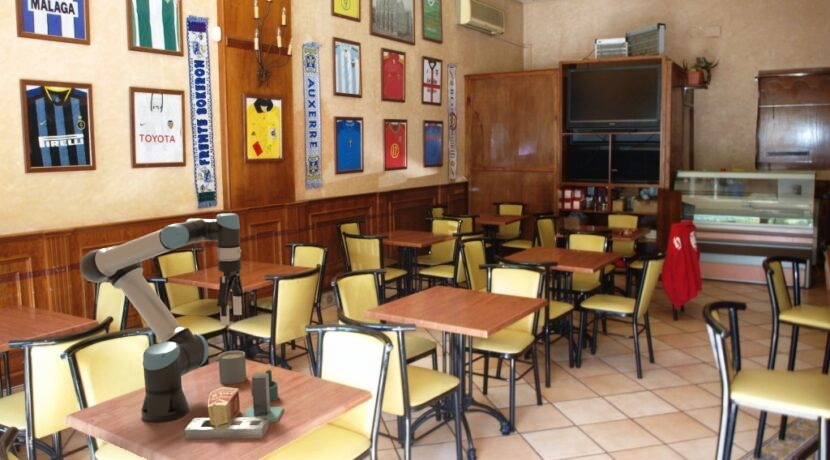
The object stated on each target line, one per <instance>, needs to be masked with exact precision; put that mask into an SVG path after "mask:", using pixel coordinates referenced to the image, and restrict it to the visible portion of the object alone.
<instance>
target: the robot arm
mask: <svg viewBox="0 0 830 460" xmlns="http://www.w3.org/2000/svg"><path fill="white" fill-rule="evenodd" d="M240 228H241V226H240V216H239V215H238V213H237V214H236V213H232V212H231V213H225V212H224V213H218V214H217V215H216V216H215V219H211V218H199V217H195V218H188V219H187V220H186V221H185V222H179V223H172V224H169V225H166V226H165V227H164V228H161V229H159V230H157V231H154V232H150V233H148V234H145V235H142V236H140V237H137V238H135V239H132V240H130V241H128V242H125V243H122V244H115V245H111V246H109V247H104V248H98V249H93V250H91V251H88V252H87V253H85V254H84V255H83V256H82V258H81V260H80V263H79V270H80V273H81V275H82V276H83V278H84V279H86V280H87V281H89V282H91V283H94V284H95V283H97V284H101V283H106V282H109V283H110V285H112V287H113V288H114V289H116V290H117V289H118V290H121V291H122V292H123V294H124V295H125V296H126V298H127V299H128V300H129V302H130V303H131V305H133V307H134V309H136V311H137V312H138V313H139V315H140V316H141V317H142V319H143V320H144V321H145V323H146V324H147V326H148V327H149V328H150V330H152V332H153V333H154V335H155V336H156V337H157V338H158V340H159V343H155V344H152V345H150V346H149V347H147V348H146V349H145V350H144V351H143V355H142V356H143V357H142V366H143V376H144V390H145V394H144V395H145V396H144V399H143V404H142V407H141V412H140V413H141V418H142V419H143V420H144V421H147V422H152V423H160V422H168V421H173V420H176V419H179V418H182V417H183V416H185V415H187V413H189V410H190V409H189V402H188V400H187V397H186V395H185V393H184V391H183V385H182V376H184V375H186V374H188V373H190V372H191V371H193V370H196V369H198V368H199V367H201V366H202V365H203V364H204V363H205V362H206V361H207V359H208V357H209V352H210V348H209V344H208V342H207V340H206V339H205V337H204V336H203V335H201V334H198V333H193V332H192V331H191V330H190V328H189V327H185V326H182V325H181V324H180V323H179V322H178V320H177V319H176V318H175V316H174V315H173V313H172V312H171V311H170V309H168V307H167V306H166V304H165V303H164V302H163V301H162V299H161V298H160V297H159V295H158V294H157V293H156V291H155V290H154V289H153V287H152V286H151V285H150V283H149V282H148V281H147V280H146V278H145V277H144V275H143V272H144V268H143V267H142V265H143V263H142V262H143V261H145V260H149V259H151V258H154V257H156V256H158V255H161V254H164V253H167V252H170V251H173V250H176V249H178V248H182V247H184V246H189V245H191V244H196V243H197V244H198V243H200V242H216V243H217V248H216V249H217V259H218V261H217V266H218V267H217V269H218V271H219V272H222V273H223V275H222V276H220V277H219V287H218V297H217V302H216V303H217V304H216V307H219V309H220V310H219V311H220V312H219V313H220V326H230V306H229V301H230V295H231V291H232V293H233V294H232V295H234V296H233V297H232V304H233V306H232V309H233V315H234V316H242V310H243V308H242V307H243V306H242V297H244V295H245V294H244V288H243V284H242V279H241V274H240V271H241V269H242V260H241V259H240V258H241V253H242V251H243V250H242V249H241V241H240V238H241V235H240V234H241V233H240V232H241V231H240V230H241V229H240Z"/></svg>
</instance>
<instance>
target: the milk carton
mask: <svg viewBox="0 0 830 460" xmlns="http://www.w3.org/2000/svg"><path fill="white" fill-rule="evenodd" d="M207 401H208V402H207V409H208V410H207V411H208V418H209V419H210V423H211V424H212V425H216V428H217V426H218V425H221V424H224V423H227V422H228V421H229V419H230V418H236V416H238V415H239V413H240V412H241V402H240V401H241V400H240V390H239V388H235V387H225V386H222V387H221V386H220V387H219V388H216V389H214V390H212V391H210V393H209V395H208V400H207Z"/></svg>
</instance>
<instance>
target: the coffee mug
mask: <svg viewBox="0 0 830 460" xmlns="http://www.w3.org/2000/svg"><path fill="white" fill-rule="evenodd" d="M218 368H219V369H218V374H219V382H220V383H221V384H224V385H225V384H226V385H233V384H239V383H242V381H243V382H244V381H246V380H247V368H246V353H245V352H244V351H243V350H242V351H241V350H229V351H224V352H221V353H220V354H218Z"/></svg>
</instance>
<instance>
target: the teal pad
mask: <svg viewBox="0 0 830 460" xmlns="http://www.w3.org/2000/svg"><path fill="white" fill-rule="evenodd" d="M284 408H285V407H284V406H275V407H274V406H272V407H271V406H270V412H269V414H268V415H267V416H254V409H253V406H252V407H251V406H250V407H248V408H247V409H246V410H245V412H244V414H243V415H241V418H243V417H268V423H270V422H271V423H274V422H275V423H277V422H278V421H279V419H280V418H281V415H282V414H283V412H284V411H285V410H284Z"/></svg>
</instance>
